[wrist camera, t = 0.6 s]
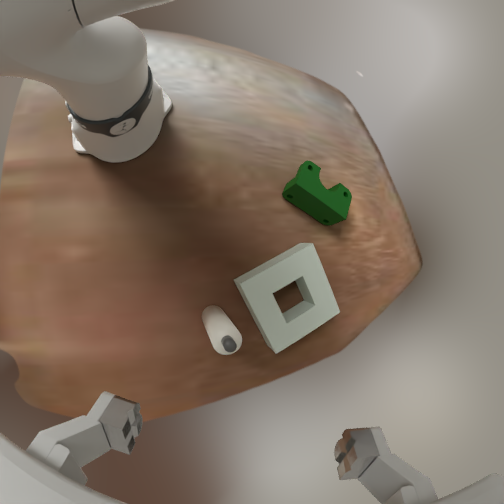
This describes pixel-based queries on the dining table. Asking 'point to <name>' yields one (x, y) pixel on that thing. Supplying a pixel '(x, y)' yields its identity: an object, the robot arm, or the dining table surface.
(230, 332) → the white bottle
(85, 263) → the dining table surface
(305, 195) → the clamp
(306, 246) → the housing
